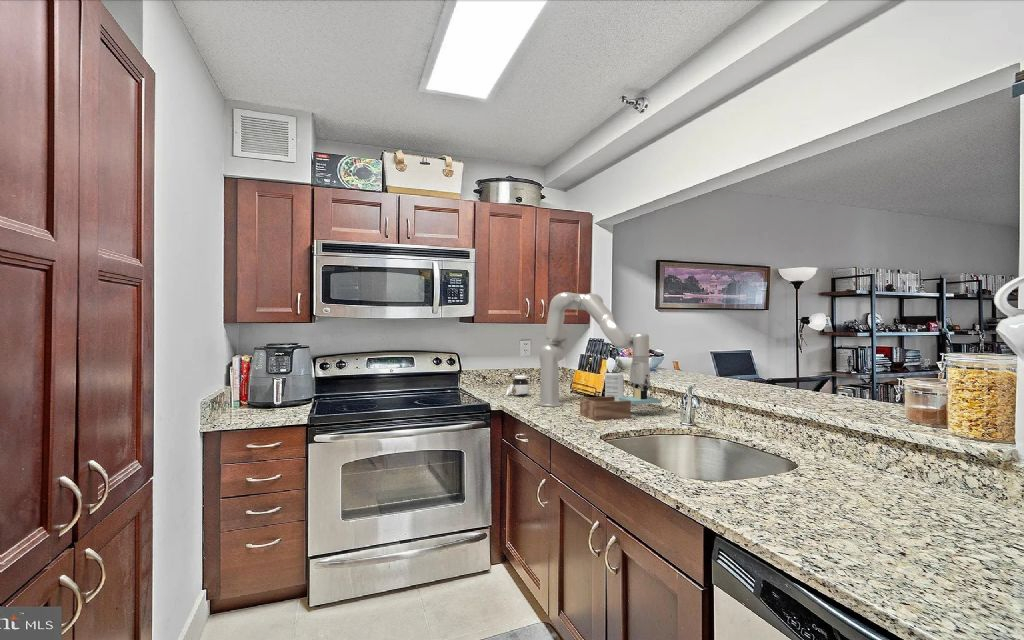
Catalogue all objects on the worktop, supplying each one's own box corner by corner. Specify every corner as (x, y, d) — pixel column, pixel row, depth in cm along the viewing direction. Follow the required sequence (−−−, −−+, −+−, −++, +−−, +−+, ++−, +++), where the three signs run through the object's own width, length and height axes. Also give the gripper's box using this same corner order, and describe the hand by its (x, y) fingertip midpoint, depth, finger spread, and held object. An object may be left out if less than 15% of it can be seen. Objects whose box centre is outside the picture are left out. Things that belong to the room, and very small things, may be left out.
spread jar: (530, 396, 276) (530, 376, 276) (514, 398, 270) (514, 377, 270) (518, 393, 286) (519, 374, 286) (503, 395, 279) (503, 375, 280)
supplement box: (623, 408, 239) (623, 375, 240) (604, 407, 241) (605, 374, 241) (622, 405, 249) (623, 373, 249) (604, 404, 251) (605, 372, 251)
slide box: (580, 414, 221) (580, 398, 221) (613, 412, 227) (613, 396, 228) (595, 420, 208) (595, 402, 208) (630, 418, 214) (630, 400, 214)
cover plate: (619, 400, 227) (619, 387, 227) (646, 399, 233) (646, 386, 233) (633, 404, 217) (633, 391, 217) (661, 402, 222) (661, 389, 222)
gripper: (623, 358, 231) (623, 395, 231) (644, 361, 215) (644, 401, 215) (636, 358, 234) (636, 395, 234) (658, 360, 218) (658, 400, 218)
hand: (640, 397), depth 225 cm, fingers closed on cover plate, 5 cm apart
